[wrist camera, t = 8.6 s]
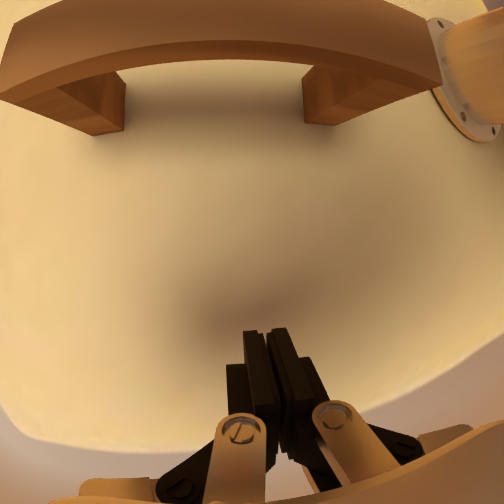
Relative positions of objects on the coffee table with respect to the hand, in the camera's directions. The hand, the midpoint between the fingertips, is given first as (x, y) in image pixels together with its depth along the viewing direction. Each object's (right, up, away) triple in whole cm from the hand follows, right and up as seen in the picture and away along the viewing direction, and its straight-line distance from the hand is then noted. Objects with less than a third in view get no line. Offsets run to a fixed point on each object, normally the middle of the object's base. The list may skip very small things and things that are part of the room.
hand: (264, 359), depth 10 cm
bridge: (-3, +13, +3) cm, 14 cm away
